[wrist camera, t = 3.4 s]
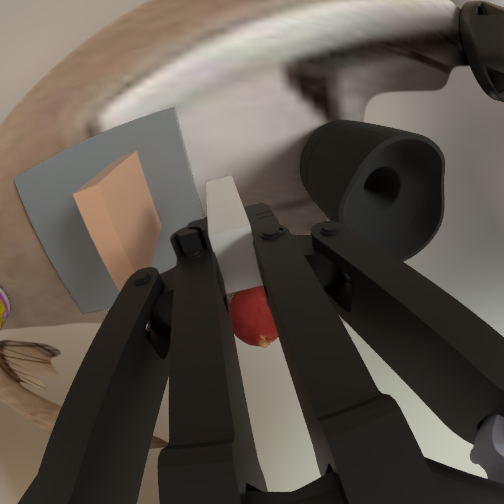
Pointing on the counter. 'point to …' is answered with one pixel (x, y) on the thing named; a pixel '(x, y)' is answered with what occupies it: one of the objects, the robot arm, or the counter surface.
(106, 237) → the tile
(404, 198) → the pen holder
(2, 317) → the supplement bottle
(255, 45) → the counter surface
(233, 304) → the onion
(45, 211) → the slate board
